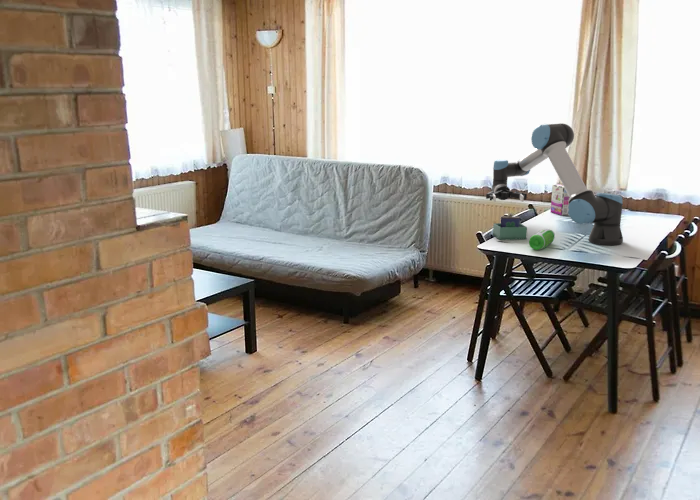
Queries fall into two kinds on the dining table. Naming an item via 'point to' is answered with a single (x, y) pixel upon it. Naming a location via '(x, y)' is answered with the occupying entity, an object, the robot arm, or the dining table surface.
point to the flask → (510, 221)
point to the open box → (509, 232)
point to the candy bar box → (559, 200)
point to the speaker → (541, 239)
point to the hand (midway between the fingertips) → (508, 198)
